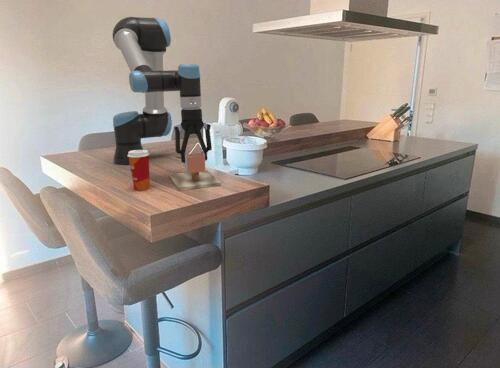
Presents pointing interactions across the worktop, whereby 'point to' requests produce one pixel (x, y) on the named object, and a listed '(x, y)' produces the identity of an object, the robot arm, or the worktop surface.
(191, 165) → the reddish orange cube
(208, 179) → the board
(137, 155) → the paper cup
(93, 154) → the worktop surface
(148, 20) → the robot arm
